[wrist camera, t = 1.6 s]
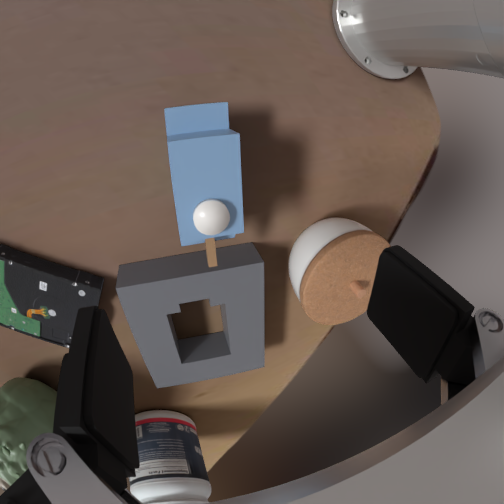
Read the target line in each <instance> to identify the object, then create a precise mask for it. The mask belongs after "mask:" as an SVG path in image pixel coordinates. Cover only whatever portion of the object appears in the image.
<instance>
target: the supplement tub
mask: <svg viewBox="0 0 504 504" xmlns="http://www.w3.org/2000/svg"><path fill="white" fill-rule="evenodd" d="M135 425H136V436H137V445H138V454H139V462H140V467H139V468H138V469H135V472H136V477H129V481H130V491H131V494H132V495H134V496H135V497H136V498H137V499H138V500H139V501H140V502H142V503H143V504H205V503H210V502H208V500H207V498H208V497H209V496H210V494H211V485H210V482H209V479H208V475H207V471H206V467H205V464H204V460H203V456H202V451H201V447H200V443H199V439H198V435H197V431H196V425H195V424H194V422H193V421H192V420H191V419H190V418H189V417H187V416H186V415H184V414H181V413H178V412H174V411H168V410H152V411H145V412H141V413H138V414H136V415H135Z"/></svg>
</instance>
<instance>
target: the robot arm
mask: <svg viewBox="0 0 504 504" xmlns="http://www.w3.org/2000/svg"><path fill="white" fill-rule="evenodd" d="M332 11H333V22H334V27H335V30H336V32H337V35H338V38H339V40H340V42H341V44H342V45H343V47H344V49H345V50H346V52H347V53H348V54H349V56H350V57H351V58H352V59H353V60H354V61H355V62H356V63H357V64H358V65H359V66H360V67H362V68H363V69H364V70H365V71H367V72H369V73H371V74H373V75H374V76H378V77H381V78H387V79H400V78H404V77H407V76H408V75H410V74H411V73H413V72H414V71H415V70H416V69H417V67H429V68H440V69H449V70H458V71H465V72H473V73H478V74H484V75H489V76H494V77H499V78H504V0H334V2H333V7H332ZM473 310H474V306H473V305H472V304H470V303H469V302H468V301H467V300H466V299H465V298H464V297H463V296H461V295H460V294H459V293H458V292H457V291H455V290H454V289H453V288H452V287H451V286H450V285H448V284H447V283H446V282H445V281H443V280H442V279H441V278H440V277H439V276H438V275H436V274H435V273H434V272H432V271H431V270H430V269H429V268H428V267H426V266H425V265H424V264H422V263H421V262H420V261H419V260H418V259H416V258H415V257H414V256H412V255H411V254H410V253H408V252H407V251H406V250H405V249H403V248H402V247H400V246H398V245H396V246H392V247H387V248H385V249H384V250H383V251H382V253H381V254H380V256H379V261H378V265H377V270H376V274H375V279H374V283H373V287H372V291H371V295H370V299H369V303H368V307H367V315H368V317H369V319H370V320H371V321H372V322H373V324H374V325H375V326H376V327H377V328H378V329H379V331H380V332H381V333H382V334H383V335H384V336H385V338H386V339H387V340H388V341H389V342H390V343H391V345H392V346H393V347H394V348H395V349H396V351H397V352H398V353H399V354H400V355H401V357H402V358H403V359H404V360H405V361H406V363H407V364H408V365H409V366H410V367H411V369H412V370H413V371H414V372H415V374H416V375H417V376H418V377H420V378H422V379H423V380H424V381H425V383H428V382H430V381H431V380H433V379H434V378H436V376H437V375H438V373H439V374H440V375H441V406H440V407H439V408H437V409H436V410H434V411H433V412H431V413H430V414H428V415H427V416H425V417H424V418H422V419H421V420H419V421H417V422H416V423H414V424H413V425H411V426H409V427H408V428H406V429H404V430H403V431H401V432H399V433H398V434H396V435H394V436H392V437H391V438H389V439H387V440H385V441H383V442H381V443H379V444H378V445H376V446H374V447H372V448H370V449H368V450H366V451H364V452H362V453H360V454H358V455H356V456H353V457H351V458H349V459H347V460H345V461H342V462H340V463H338V464H336V465H333V466H331V467H329V468H326V469H324V470H321V471H319V472H316V473H313V474H311V475H308V476H306V477H303V478H300V479H297V480H294V481H291V482H288V483H285V484H282V485H279V486H276V487H272V488H269V489H265V490H262V491H258V492H255V493H251V494H247V495H243V496H238V497H234V498H230V499H225V500H221V501H216V502H211V503H205V504H504V319H503V318H502V317H501V316H500V315H499V314H498V313H496V312H495V311H493V310H490V309H486V308H485V309H484V308H482V309H479V310H478V311H476V313H475V315H474V317H472V316H471V314H472V312H473ZM26 461H27V466H28V469H27V470H26V471H25V472H24V473H23V474H22V475H21V476H20V477H19V478H18V479H17V480H16V481H15V482H14V483H13V484H12V485H11V486H10V487H9V488H8V489H7V490H6V491H5V492H4V493H3V494H2V495H1V496H0V504H143V503H142V502H140V501H139V500H138V499H137V498H136V497H135V496H134V495H132V494H131V493H130V492H129V491H128V490H127V489H126V488H127V480H126V477H136V472H135V469H138V468H139V467H140V462H139V454H138V445H137V436H136V425H135V412H134V395H133V375H132V370H131V367H130V365H129V363H128V361H127V359H126V357H125V354H124V352H123V350H122V348H121V346H120V344H119V342H118V340H117V337H116V335H115V333H114V331H113V328H112V326H111V324H110V322H109V319H108V317H107V314H106V312H105V310H104V309H101V310H99V308H98V307H97V306H96V305H95V306H89V307H83V308H79V310H78V313H77V317H76V321H75V325H74V330H73V334H72V339H71V344H70V349H69V353H66V354H65V355H64V357H63V360H62V366H61V371H60V377H59V383H58V390H57V397H56V405H55V413H54V423H53V433H43V434H40V435H39V436H37V437H35V438H34V439H33V440H32V442H31V443H30V445H29V447H28V449H27V454H26Z"/></svg>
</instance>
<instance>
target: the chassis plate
mask: <svg viewBox="0 0 504 504" xmlns="http://www.w3.org/2000/svg"><path fill="white" fill-rule="evenodd" d="M216 258H217V266H214V267H209V266H208V262H207V255H206V250H204V251H198V252H192V253H186V254H181V255H175V256H169V257H163V258H158V259H152V260H146V261H141V262H135V263H129V264H124V265H119V270H118V276H117V282H116V291H117V294H118V297H119V300H120V302H121V305H122V308H123V310H124V313H125V316H126V318H127V321H128V323H129V326H130V328H131V331H132V333H133V336H134V338H135V341H136V343H137V345H138V348H139V350H140V352H141V355H142V357H143V359H144V361H145V364H146V366H147V368H148V370H149V372H150V374H151V377H152V379H153V381H154V383H155V385H156V387H157V388H162V387H169V386H175V385H181V384H187V383H192V382H198V381H203V380H208V379H213V378H218V377H223V376H227V375H232V374H236V373H241V372H245V371H249V370H253V369H257V368H261V367H264V261H263V260H262V258H261V256H260V255H259V253H258V251H257V250H256V248H255V246H254V245H253V243H252V242H251V243H245V244H239V245H233V246H227V247H221V248H216ZM203 299H209V302H210V306H216V305H220V306H221V314H222V322H223V329H224V331H222V332H217V333H212V334H207V335H202V336H197V337H191V338H186V339H180V340H178V339H177V335H176V332H175V328H174V325H173V321H172V317H171V314H173V313H178V312H181V310H180V304H181V303H187V302H192V301H198V300H203Z"/></svg>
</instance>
